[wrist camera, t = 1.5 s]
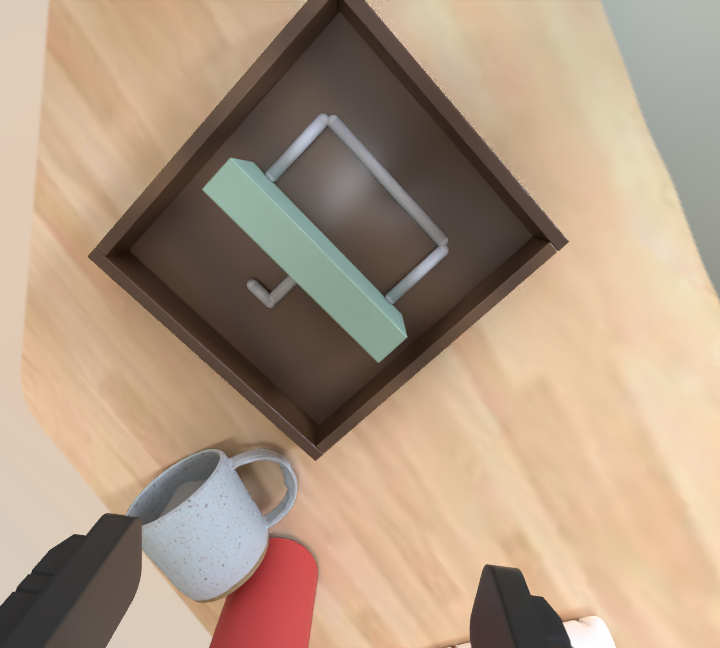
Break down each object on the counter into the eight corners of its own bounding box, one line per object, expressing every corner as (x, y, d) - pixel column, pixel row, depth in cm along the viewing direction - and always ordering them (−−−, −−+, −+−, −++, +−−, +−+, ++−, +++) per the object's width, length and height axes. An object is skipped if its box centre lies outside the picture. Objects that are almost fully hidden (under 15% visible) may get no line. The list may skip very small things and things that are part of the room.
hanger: (315, 92, 29) (304, 74, 24) (465, 257, 32) (482, 270, 27) (190, 230, 31) (157, 238, 27) (338, 372, 34) (333, 403, 29)
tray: (340, -7, 28) (336, -34, 25) (547, 235, 32) (569, 241, 28) (117, 249, 33) (86, 256, 29) (320, 434, 36) (315, 461, 33)
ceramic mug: (207, 549, 39) (171, 633, 32) (151, 473, 37) (99, 543, 30) (319, 498, 38) (308, 573, 31) (267, 416, 36) (242, 475, 29)
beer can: (316, 600, 41) (294, 764, 29) (239, 593, 41) (187, 754, 29) (321, 536, 39) (300, 684, 27) (241, 529, 39) (186, 674, 27)
